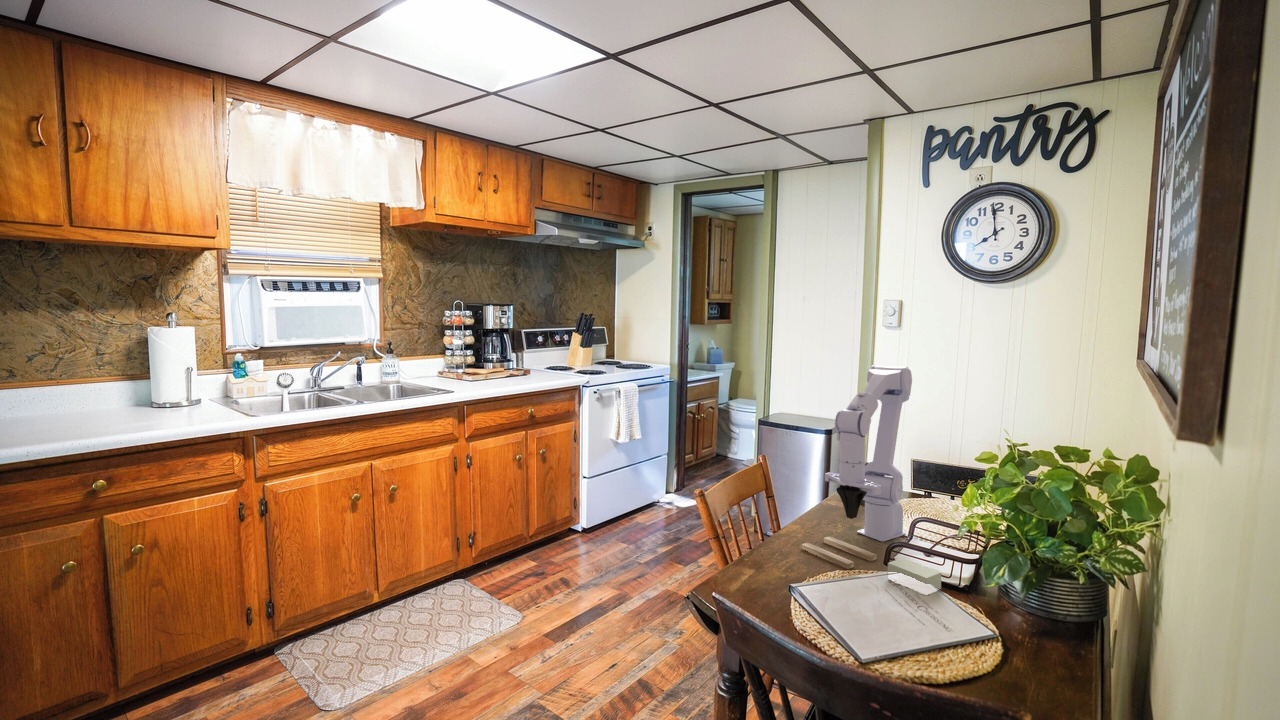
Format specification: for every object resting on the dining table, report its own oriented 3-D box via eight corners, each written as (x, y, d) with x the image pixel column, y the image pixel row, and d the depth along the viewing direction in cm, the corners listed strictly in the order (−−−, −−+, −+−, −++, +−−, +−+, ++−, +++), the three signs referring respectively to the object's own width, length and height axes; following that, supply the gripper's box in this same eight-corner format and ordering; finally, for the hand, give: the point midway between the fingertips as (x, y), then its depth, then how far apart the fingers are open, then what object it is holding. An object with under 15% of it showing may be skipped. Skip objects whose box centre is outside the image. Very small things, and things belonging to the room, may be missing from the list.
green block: (902, 575, 131) (902, 557, 131) (940, 591, 124) (941, 572, 123) (887, 580, 129) (887, 562, 128) (926, 597, 121) (926, 578, 121)
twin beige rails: (829, 540, 151) (829, 536, 151) (876, 559, 139) (876, 554, 139) (801, 549, 146) (801, 544, 146) (847, 569, 134) (847, 563, 134)
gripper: (816, 457, 144) (816, 512, 145) (867, 469, 132) (866, 529, 133) (836, 453, 148) (835, 506, 149) (887, 465, 136) (886, 523, 137)
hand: (851, 517), depth 141 cm, fingers closed
